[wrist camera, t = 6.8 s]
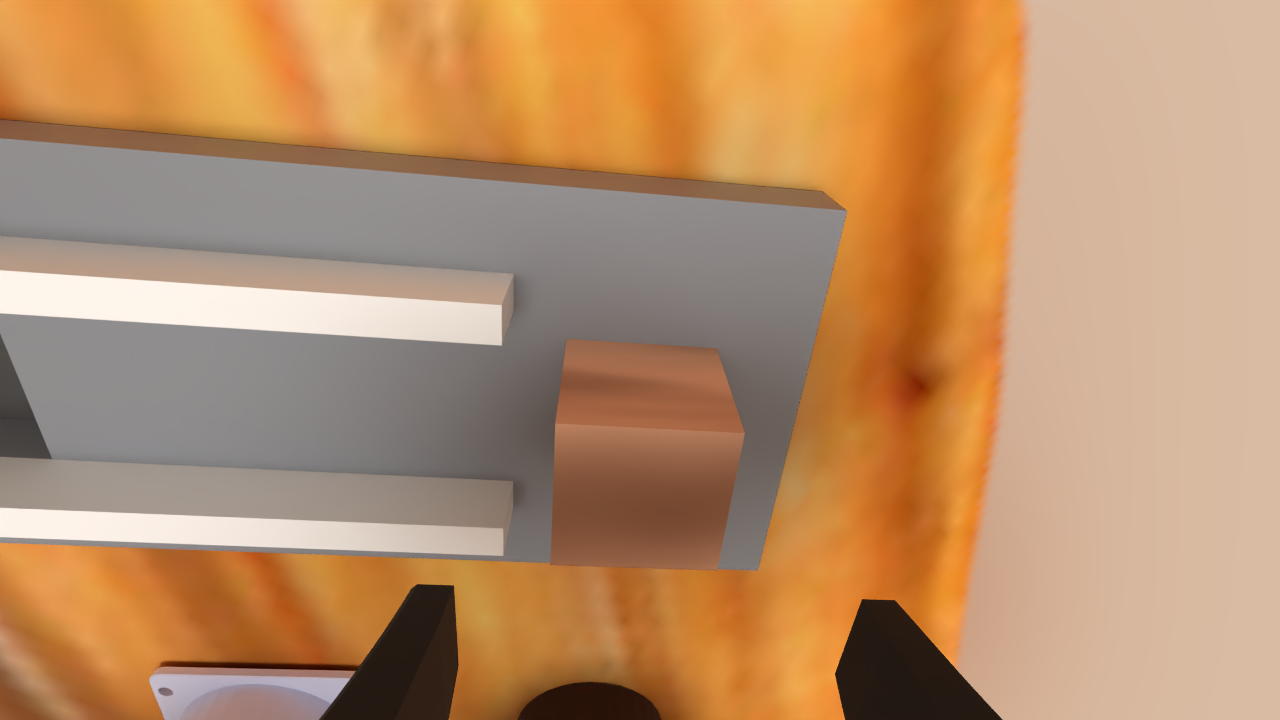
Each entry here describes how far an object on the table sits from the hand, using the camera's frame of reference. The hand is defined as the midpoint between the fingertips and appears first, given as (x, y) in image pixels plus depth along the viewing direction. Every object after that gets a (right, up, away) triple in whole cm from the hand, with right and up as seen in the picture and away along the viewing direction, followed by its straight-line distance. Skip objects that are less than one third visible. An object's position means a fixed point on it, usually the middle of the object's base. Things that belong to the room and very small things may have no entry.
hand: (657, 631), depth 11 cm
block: (0, +3, +6) cm, 7 cm away
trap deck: (-10, +5, +7) cm, 13 cm away
